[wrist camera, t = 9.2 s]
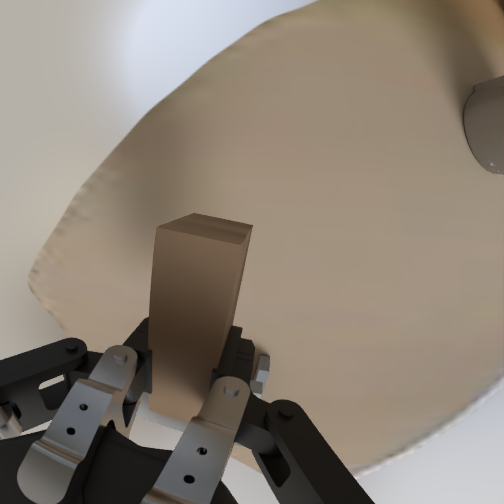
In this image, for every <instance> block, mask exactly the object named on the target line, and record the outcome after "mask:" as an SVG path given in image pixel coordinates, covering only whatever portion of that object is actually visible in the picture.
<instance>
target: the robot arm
mask: <svg viewBox="0 0 504 504" xmlns="http://www.w3.org/2000/svg"><path fill="white" fill-rule="evenodd" d="M474 88H475V90H474V93H473V95H471V96H470V97H469V99H468V101H467V102H466V106H465V109H464V126H465V131H466V136H467V139H468V142H469V145H470V147H471V150H472V152H473V154H474V155H475V157H476V159H477V160H478V162H479V163H480V164H481V165H482V166H483V167H484V168H485V169H486V170H488V171H490V172H492V173H496V174H503V175H504V76H501V77H498V78H495V79H492V80H489V81H486V82H483V83H480V84H478V85H475V87H474ZM242 329H243V328H242V327H237V326H233V325H231V328H230V331H229V334H228V337H227V340H226V343H225V346H224V349H223V353H222V356H221V359H220V362H219V365H218V368H217V369H215V368H213V370H212V375H211V381H210V387H209V393H208V396H207V398H206V400H205V402H204V403H203V405H202V407H201V409H200V411H199V413H198V415H197V416H193V417H192V418H191V420H190V422H189V424H188V425H187V427H186V429H185V431H184V433H183V435H182V437H181V438H180V440H179V442H178V444H177V446H176V447H175V449H174V451H172V450H163V449H155V448H148V447H142V446H139V445H137V444H136V443H134V442H133V441H131V440H129V433H130V430H131V427H132V424H133V421H134V419H135V416H136V413H137V411H138V408H139V405H140V397H141V395H142V393H143V392H146V393H149V394H151V393H152V350H149V349H148V330H149V317H147V318H145V319H144V320H143V321H142V322H141V323H140V325H139V326H138V327H137V328H136V329H135V330H134V332H133V333H132V334H131V335H130V336H129V337H128V339H127V340H126V341H125V342H124V343H123V345H115V346H112V347H110V348H108V349H107V350H106V351H105V352H104V353H98V352H92V351H87V346H86V344H85V342H84V341H82V340H80V339H78V338H66V339H63V340H60V341H57V342H54V343H51V344H48V345H45V346H42V347H39V348H36V349H33V350H30V351H27V352H24V353H21V354H18V355H15V356H12V357H9V358H6V359H3V360H0V504H238V503H237V501H236V500H235V498H234V497H233V496H232V494H231V493H230V491H229V490H228V488H227V487H226V486H225V485H224V483H223V482H222V481H221V479H222V476H223V473H224V471H225V468H226V465H227V462H228V459H229V457H230V454H231V451H232V448H233V445H234V443H235V442H236V443H238V444H240V445H242V446H245V447H247V448H249V449H251V450H252V453H253V455H254V457H255V459H256V461H257V463H258V465H259V467H260V469H261V471H262V473H263V475H264V476H265V478H266V480H267V482H268V484H269V486H270V487H271V489H272V491H273V493H274V494H275V496H276V498H277V500H278V502H279V503H280V504H375V503H374V502H373V501H372V500H371V498H370V497H369V496H368V495H367V493H366V492H365V491H364V490H363V488H362V487H361V486H360V485H359V483H358V482H357V481H356V480H355V478H354V477H353V476H352V475H351V473H350V472H349V471H348V469H347V468H346V467H345V466H344V464H343V463H342V462H341V460H340V459H339V458H338V456H337V455H336V454H335V452H334V451H333V450H332V449H331V447H330V446H329V445H328V443H327V442H326V440H325V439H324V438H323V436H322V435H321V434H320V432H319V431H318V430H317V428H316V427H315V425H314V424H313V423H312V421H311V420H310V419H309V417H308V416H307V414H306V413H305V412H304V410H303V409H302V408H301V407H300V406H299V405H298V404H297V403H295V402H293V401H290V400H276V401H273V402H272V403H268V402H266V401H263V400H261V399H260V398H258V397H257V396H256V395H254V393H253V392H252V391H251V388H250V380H251V373H252V366H253V359H254V352H255V346H254V344H253V342H252V340H248V339H243V338H241V333H242ZM60 375H63V377H64V381H61V382H58V383H56V384H53V385H51V386H49V387H46V388H43V389H39V386H40V384H41V383H43V382H45V381H47V380H50V379H52V378H55V377H57V376H60ZM52 419H53V420H52ZM50 420H52V422H51V423H50V425H49V427H48V428H47V429H46V430H42V431H39V432H35V433H31V434H26V435H22V436H20V435H21V432H24V431H26V430H29V429H31V428H34V427H36V426H38V425H41V424H43V423H45V422H48V421H50Z"/></svg>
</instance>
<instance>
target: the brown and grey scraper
mask: <svg viewBox="0 0 504 504" xmlns="http://www.w3.org/2000/svg"><path fill="white" fill-rule="evenodd" d="M252 227H253V225H249V224H245V223H240V222H235V221H231V220H226V219H221V218H216V217H211V216H206V215H201V214H196V213H193V214H190V215H188V216H185V217H182V218H179V219H177V220H174V221H171V222H169V223H166V224H163V225H161V226H158V227H157V229H156V237H155V246H154V255H153V266H152V277H151V290H150V307H149V330H148V349H149V350H152V393H151V394H149V393H146V392H143V393H142V395H141V397H140V405H139V408H138V411H137V413H136V416H138V417H140V418H143V419H146V420H149V421H151V422H154V423H157V424H160V425H163V426H166V427H169V428H172V429H176V430H179V431H182V432H184V431H185V429H186V427H187V425H188V424H189V422H190V420H191V418H192V417H193V416H197V415H198V413H199V411H200V409H201V407H202V405H203V403H204V402H205V400H206V398H207V396H208V393H209V387H210V381H211V375H212V370H213V368H215V369H217V368H218V365H219V362H220V359H221V356H222V353H223V349H224V346H225V343H226V340H227V337H228V334H229V331H230V328H231V325H233V320H234V315H235V310H236V305H237V300H238V295H239V290H240V285H241V281H242V276H243V271H244V266H245V261H246V256H247V251H248V246H249V242H250V237H251V232H252ZM250 388H251V391H252V392H253V393H254V395H256V396H257V397H258V398H260V399H261V396H262V389H263V382H259V381H253V380H250ZM234 444H235V445H240V444H238V443H236V442H235V443H234ZM240 446H242V445H240Z"/></svg>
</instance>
